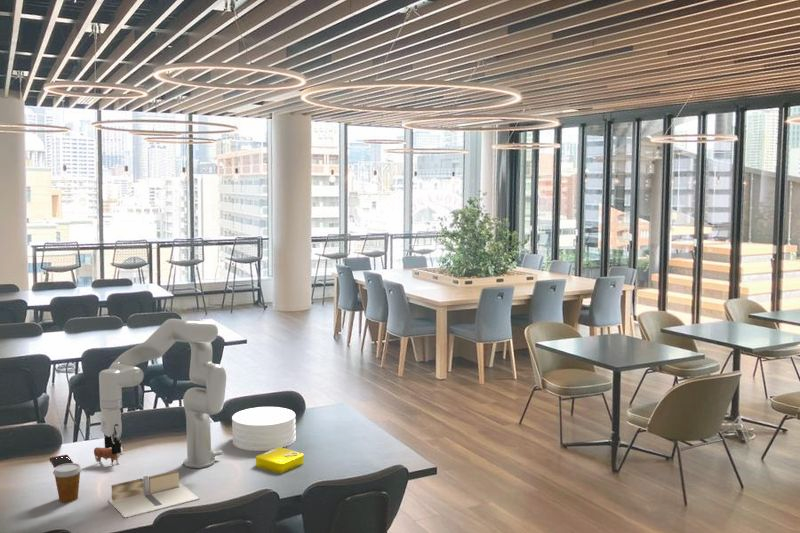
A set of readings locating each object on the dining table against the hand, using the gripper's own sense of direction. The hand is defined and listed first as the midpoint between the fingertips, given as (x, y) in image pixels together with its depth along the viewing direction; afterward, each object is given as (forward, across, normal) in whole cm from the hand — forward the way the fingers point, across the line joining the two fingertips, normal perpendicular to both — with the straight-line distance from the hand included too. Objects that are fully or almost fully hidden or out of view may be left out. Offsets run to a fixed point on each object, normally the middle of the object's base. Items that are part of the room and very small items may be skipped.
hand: (112, 450), depth 289 cm
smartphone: (+19, -50, -6) cm, 53 cm away
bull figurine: (+18, -34, +9) cm, 40 cm away
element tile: (+18, +6, +65) cm, 68 cm away
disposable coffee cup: (+18, -8, -14) cm, 24 cm away
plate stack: (+18, -24, +74) cm, 80 cm away
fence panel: (+17, +5, +3) cm, 18 cm away
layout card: (+18, +12, +10) cm, 24 cm away
